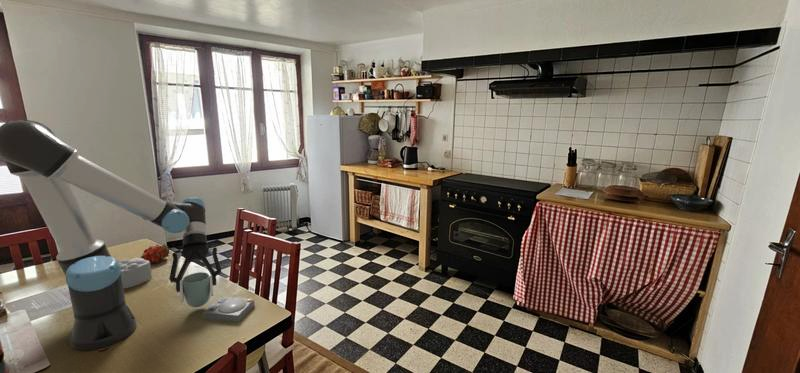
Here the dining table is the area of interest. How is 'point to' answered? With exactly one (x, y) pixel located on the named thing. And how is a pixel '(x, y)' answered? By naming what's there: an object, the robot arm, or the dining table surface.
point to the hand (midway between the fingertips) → (197, 297)
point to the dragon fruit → (156, 253)
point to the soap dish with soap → (229, 309)
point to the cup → (196, 289)
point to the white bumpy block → (134, 271)
